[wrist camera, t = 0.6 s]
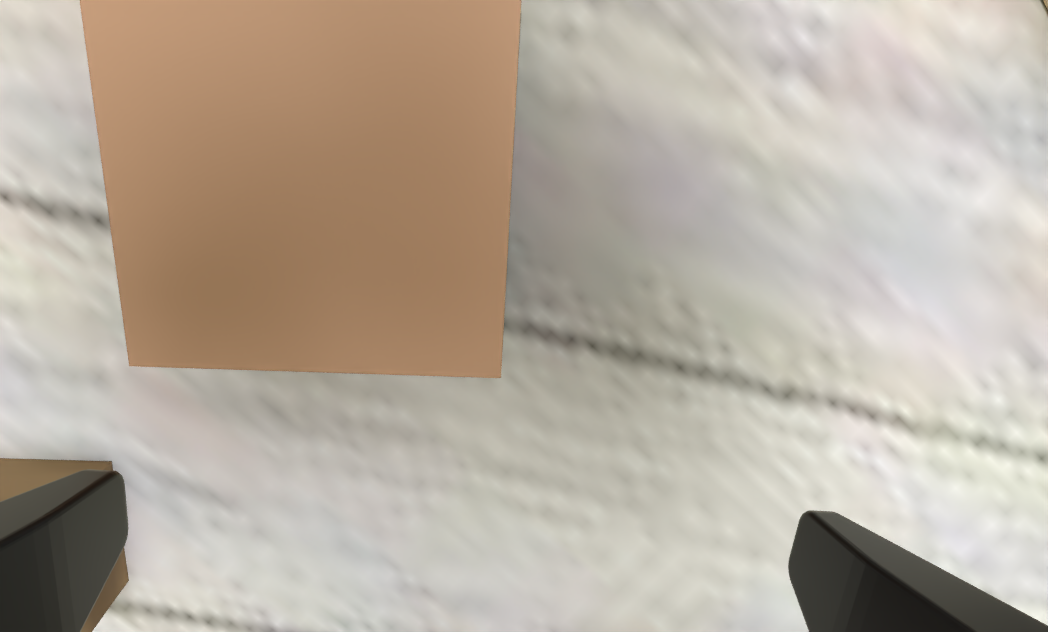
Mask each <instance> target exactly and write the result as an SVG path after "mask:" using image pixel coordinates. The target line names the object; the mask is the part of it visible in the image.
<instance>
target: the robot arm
mask: <svg viewBox="0 0 1048 632" xmlns="http://www.w3.org/2000/svg"><path fill="white" fill-rule="evenodd" d="M127 535H128V517H127V506H126V495H125V484H124V480H123V477H122V475H121V474H119V473H118V472H117V471H110V470H92V469H87V470H82V471H79V472H76V473H73V474H71V475H68V476H66V477H63V478H60V479H58V480H55V481H53V482H50V483H47V484H45V485H42V486H40V487H37V488H34V489H32V490H29V491H27V492H24V493H21V494H19V495H16V496H14V497H11V498H8V499H6V500H3V501H1V502H0V632H81V630H82V628H83V626H84V624H85V622H86V620H87V618H88V616H89V614H90V612H91V610H92V608H93V606H94V605H95V603H96V601H97V599H98V597H99V595H100V593H101V591H102V589H103V587H104V585H105V583H106V581H107V579H108V577H109V575H110V573H111V571H112V569H113V568H114V566H115V564H116V562H117V560H118V558H119V556H120V554H121V552H122V550H123V548H124V546H125V543H126V540H127ZM788 568H789V576H790V580H791V583H792V586H793V588H794V591H795V594H796V597H797V599H798V602H799V605H800V608H801V610H802V613H803V616H804V619H805V621H806V624H807V627H808V630H809V632H1048V626H1047V625H1045V624H1044V623H1042V622H1040V621H1038V620H1036V619H1034V618H1032V617H1030V616H1029V615H1027V614H1025V613H1023V612H1021V611H1019V610H1017V609H1016V608H1014V607H1012V606H1010V605H1008V604H1006V603H1004V602H1002V601H1001V600H999V599H997V598H995V597H993V596H991V595H989V594H987V593H986V592H984V591H982V590H980V589H978V588H976V587H974V586H973V585H971V584H969V583H967V582H965V581H963V580H961V579H959V578H958V577H956V576H954V575H952V574H950V573H948V572H946V571H944V570H943V569H941V568H939V567H937V566H935V565H933V564H931V563H930V562H928V561H926V560H924V559H922V558H920V557H918V556H916V555H915V554H913V553H911V552H909V551H907V550H905V549H903V548H902V547H900V546H898V545H896V544H894V543H892V542H890V541H888V540H887V539H885V538H883V537H881V536H879V535H877V534H875V533H873V532H872V531H870V530H868V529H866V528H864V527H862V526H860V525H859V524H857V523H855V522H853V521H851V520H849V519H847V518H845V517H844V516H842V515H840V514H838V513H835V512H829V511H807V512H805V513H804V514H803V515H802V516H801V518H800V520H799V524H798V527H797V531H796V535H795V539H794V542H793V546H792V550H791V554H790V558H789V565H788Z"/></svg>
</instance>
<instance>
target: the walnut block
mask: <svg viewBox="0 0 1048 632" xmlns="http://www.w3.org/2000/svg"><path fill="white" fill-rule="evenodd" d="M87 469H92V470H110V471H113V467H112V461H76V460H41V459H5V458H0V502H1V501H3V500H6V499H8V498H11V497H14V496H16V495H19V494H21V493H24V492H27V491H29V490H32V489H34V488H37V487H40V486H42V485H45V484H47V483H50V482H53V481H55V480H58V479H60V478H63V477H66V476H68V475H71V474H73V473H76V472H79V471H82V470H87ZM128 581H129V579H128V572H127V565H126V558H125V551H124V548H123V550H122V552H121V554H120V556H119V558H118V560H117V562H116V564H115V566H114V568H113V569H112V571H111V573H110V575H109V577H108V579H107V581H106V583H105V585H104V587H103V589H102V591H101V593H100V595H99V597H98V599H97V601H96V603H95V605H94V606H93V608H92V610H91V612H90V614H89V616H88V618H87V620H86V622H85V624H84V626H83V628H82V630H81V632H92V631H93V629H94V628H95V627H96V625H97V624H98V622H99V621H100V620H101V618H102V617H103V615H104V614H105V613H106V611H107V610H108V608H109V607H110V606H111V604H112V603H113V601H114V600H115V599H116V597H117V596H118V595H119V593H120V592H121V590H122V589H123V588H124V586H125V585H126V583H127V582H128Z"/></svg>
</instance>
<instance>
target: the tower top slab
mask: <svg viewBox="0 0 1048 632" xmlns="http://www.w3.org/2000/svg"><path fill="white" fill-rule="evenodd" d="M80 6H81V14H82V21H83V28H84V36H85V43H86V50H87V58H88V65H89V72H90V80H91V87H92V95H93V102H94V109H95V117H96V124H97V131H98V139H99V146H100V154H101V161H102V168H103V176H104V183H105V190H106V198H107V205H108V212H109V220H110V227H111V235H112V242H113V249H114V257H115V264H116V271H117V279H118V286H119V293H120V301H121V308H122V316H123V323H124V330H125V338H126V345H127V352H128V360H129V366H141V367H172V368H203V369H234V370H265V371H296V372H327V373H358V374H389V375H420V376H451V377H482V378H501V366H502V347H503V329H504V310H505V292H506V274H507V255H508V237H509V218H510V200H511V181H512V163H513V144H514V126H515V107H516V89H517V70H518V52H519V34H520V15H521V0H80Z"/></svg>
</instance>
